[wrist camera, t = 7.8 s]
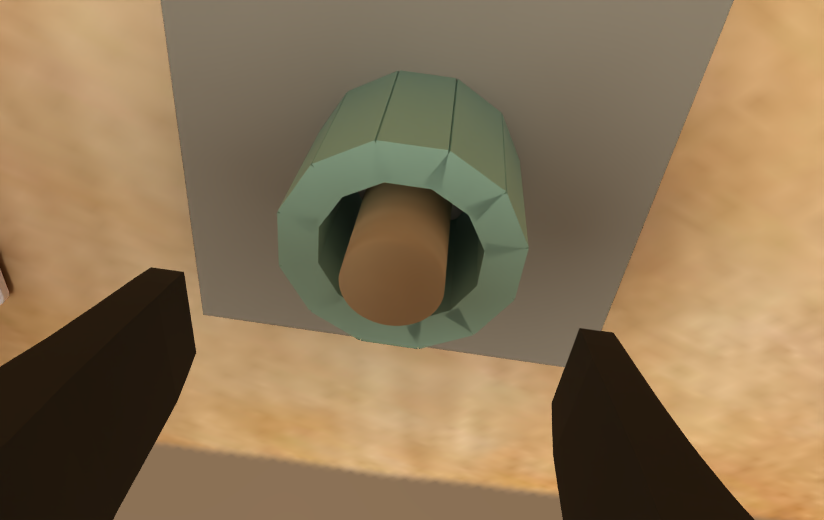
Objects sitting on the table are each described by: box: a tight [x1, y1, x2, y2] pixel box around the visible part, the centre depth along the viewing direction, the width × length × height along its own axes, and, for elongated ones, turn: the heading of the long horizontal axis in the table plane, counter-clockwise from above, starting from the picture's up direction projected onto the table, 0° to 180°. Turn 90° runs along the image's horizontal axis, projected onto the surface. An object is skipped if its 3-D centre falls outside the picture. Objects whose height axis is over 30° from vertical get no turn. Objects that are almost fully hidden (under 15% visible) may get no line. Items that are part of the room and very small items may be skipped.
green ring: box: [277, 70, 529, 349], centre depth 15 cm, size 5×5×4 cm
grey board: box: [161, 0, 734, 367], centre depth 17 cm, size 13×13×1 cm
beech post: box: [339, 182, 452, 326], centre depth 14 cm, size 2×2×5 cm
